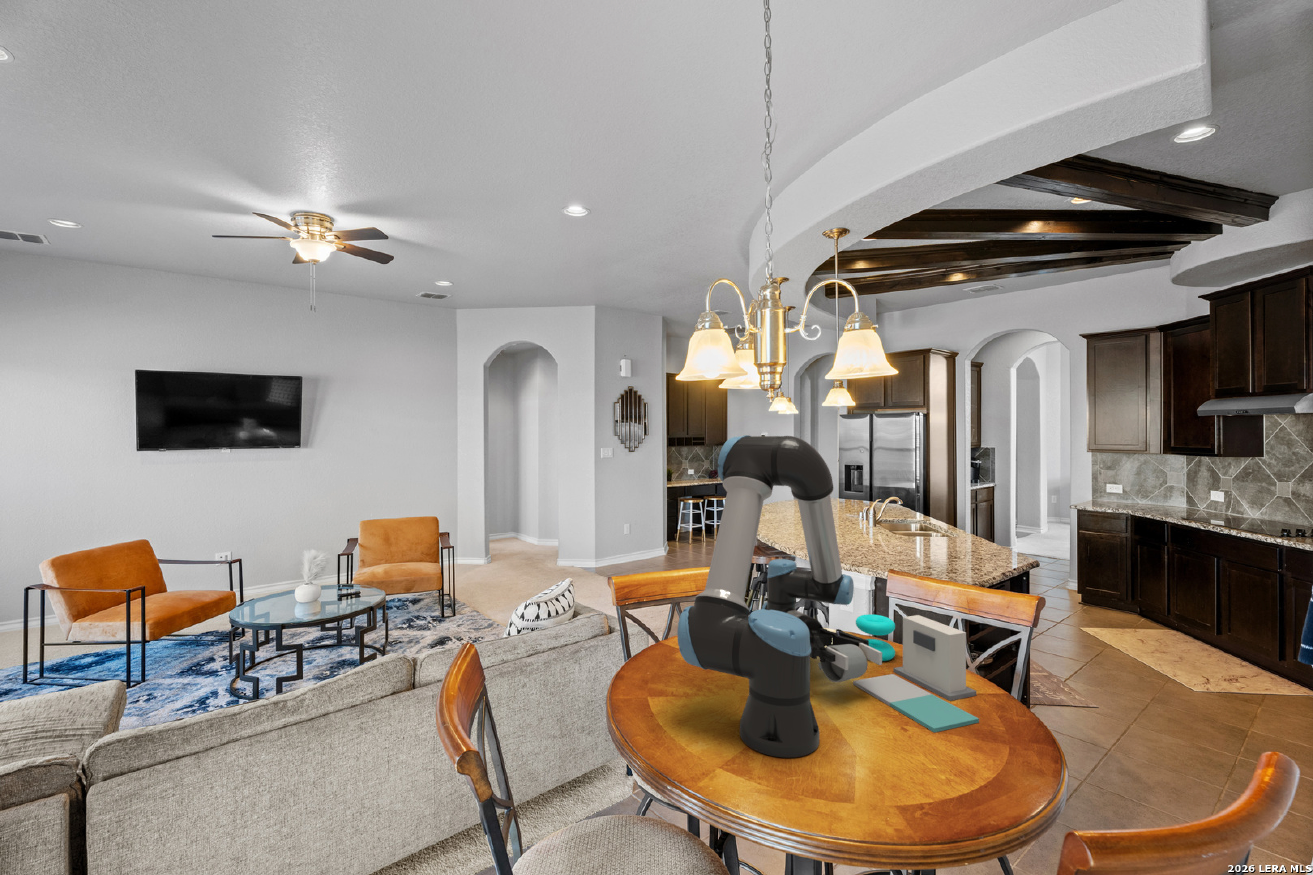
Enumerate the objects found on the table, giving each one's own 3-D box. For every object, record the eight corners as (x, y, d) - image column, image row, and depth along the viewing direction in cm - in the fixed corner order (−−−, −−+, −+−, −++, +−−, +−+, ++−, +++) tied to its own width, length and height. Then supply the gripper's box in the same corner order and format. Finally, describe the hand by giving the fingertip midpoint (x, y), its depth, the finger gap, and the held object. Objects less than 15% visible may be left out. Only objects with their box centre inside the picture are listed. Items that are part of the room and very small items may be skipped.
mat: (934, 732, 114) (934, 728, 114) (852, 684, 136) (853, 680, 136) (978, 722, 118) (978, 718, 118) (893, 677, 140) (892, 673, 140)
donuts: (903, 621, 152) (874, 626, 148) (903, 659, 152) (874, 665, 148) (875, 611, 161) (847, 615, 157) (875, 646, 161) (847, 651, 157)
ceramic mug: (870, 680, 129) (870, 645, 129) (845, 687, 125) (844, 651, 125) (834, 665, 138) (834, 633, 138) (809, 671, 134) (809, 638, 134)
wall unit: (949, 700, 128) (949, 637, 128) (893, 671, 144) (893, 615, 144) (976, 695, 131) (976, 633, 131) (918, 667, 147) (918, 612, 147)
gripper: (836, 640, 149) (902, 672, 128) (766, 649, 142) (823, 684, 121) (836, 611, 149) (902, 638, 128) (766, 618, 142) (823, 649, 121)
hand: (863, 660), depth 124 cm, fingers closed on ceramic mug, 8 cm apart
